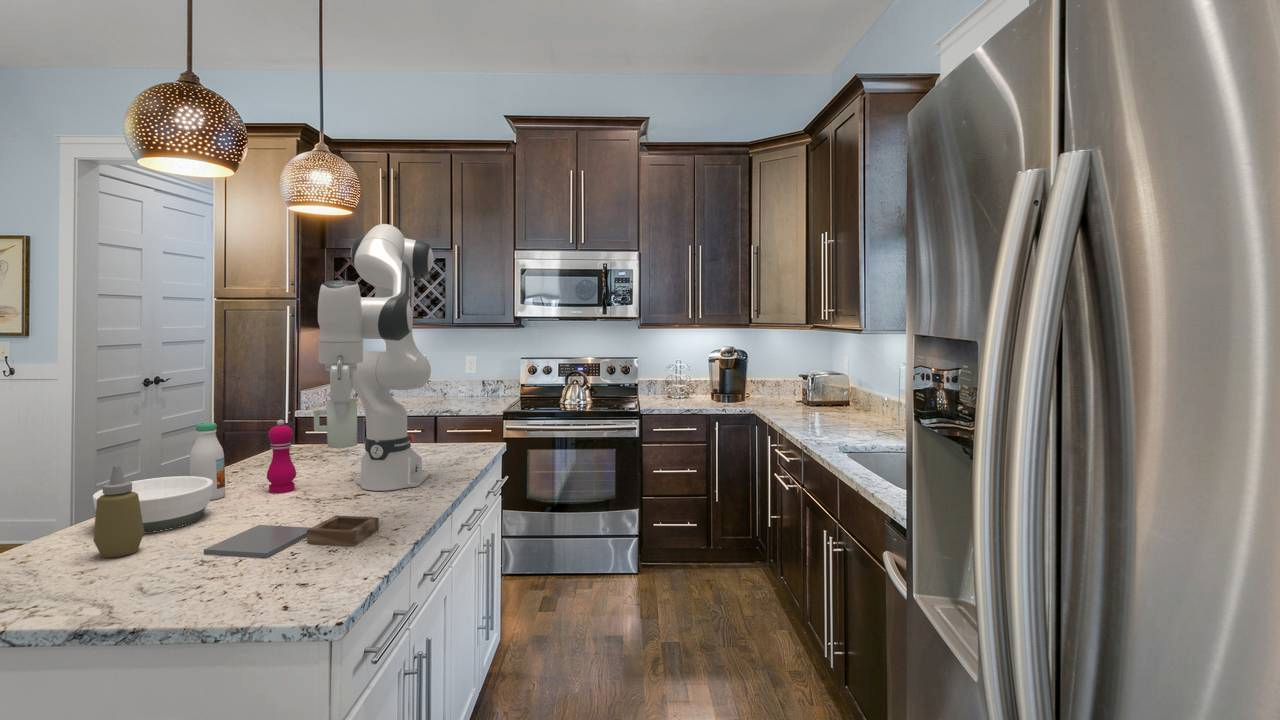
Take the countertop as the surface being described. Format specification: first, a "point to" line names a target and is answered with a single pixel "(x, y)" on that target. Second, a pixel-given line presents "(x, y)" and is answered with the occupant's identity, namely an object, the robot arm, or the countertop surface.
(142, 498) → the bowl
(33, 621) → the countertop surface
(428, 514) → the countertop surface
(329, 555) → the countertop surface
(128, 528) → the squeeze bottle
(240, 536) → the charcoal tile
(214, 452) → the milk bottle
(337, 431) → the pale green mug
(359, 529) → the walnut holder
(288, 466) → the pepper mill
